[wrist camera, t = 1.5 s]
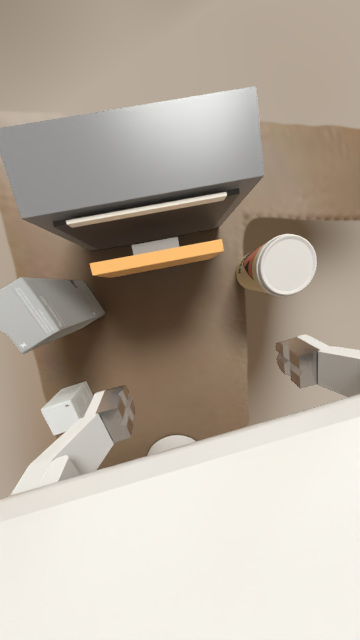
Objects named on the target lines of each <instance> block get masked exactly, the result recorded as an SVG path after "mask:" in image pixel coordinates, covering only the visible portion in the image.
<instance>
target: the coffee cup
mask: <svg viewBox="0 0 360 640" xmlns="http://www.w3.org/2000/svg"><path fill="white" fill-rule="evenodd" d="M316 265H317V259H316V254H315V251H314V249H313V247H312V245H311V244H310V243H309V242H308V241H307V240H306V239H304V238H302V237H300V236H297V235H293V234H284V235H280V236H277V237H275V238H273V239H272V240H270V241H269V242H267V243H266V244H264V245H262V246H261V247H259V248H257V249H255V250H254V251H252V252H250V253H249V254H247V255H246V256H244V257H243V258H242V259H241V260H240V261H239V263H238V265H237V268H236V277H237V280H238V282H239V283H240V285H241V286H243V287H244V288H246V289H249V290H253V291H257V292H262V293H267V294H271V295H275V296H279V297H286V296H291V295H294V294H296V293H298V292H299V291H301V290H302V289H304V288H305V287H306V286H307V285H308V284H309V283H310V281H311V280H312V278H313V276H314V274H315V271H316Z"/></svg>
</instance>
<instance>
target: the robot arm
mask: <svg viewBox="0 0 360 640" xmlns="http://www.w3.org/2000/svg"><path fill="white" fill-rule="evenodd" d="M276 351H278V352H279V354H278V356H277V363H278V366H279V368H280V369H281V371H282V372H283V373H284V374H285V375H289V376H291V380H292V381H293V382H294V383H295V384H296V385H297V386H298V387H299V388H303V387H308V386H311V385H315V384H318V385H319V386H322V387H324V388H327V389H329V390H332V391H334V392H337V393H339V394H342V395H344V396H347V397H348V398H345V399H341V400H338V401H335V402H331V403H327V404H324V405H321V406H317V407H314V408H310V409H307V410H303V411H300V412H296V413H293V414H290V415H286V416H283V417H279V418H276V419H273V420H269V421H266V422H262V423H259V424H255V425H252V426H248V427H245V428H241V429H238V430H234V431H231V432H227V433H224V434H221V435H217V436H214V437H210V438H207V439H203V440H200V441H195V440H193V439H191V438H189V437H186V436H181V435H173V436H168V437H165V438H163V439H161V440H159V441H158V442H156V443H155V444H154V445H153V446H152V447H151V449H150V450H149V452H148V454H147V456H145V457H142V458H138V459H135V460H131V461H128V462H125V463H121V464H118V465H114V466H111V467H107V468H104V469H100V470H97V468H98V467H99V465H100V464H101V462H102V461H103V459H104V458H105V456H106V455H107V453H108V452H109V450H110V449H111V447H112V446H113V444H114V442H117V441H120V440H124V439H127V438H130V437H131V435H132V429H133V423H132V420H133V418H134V416H135V407H134V403H133V400H132V398H131V397H129V396H128V394H129V390H128V388H127V386H125V385H123V386H119V387H116V388H112V389H108V390H104V391H100V392H97V393H95V395H94V397H93V399H92V401H91V403H90V405H89V407H88V409H87V411H86V414H85V416H84V417H83V418H80V419H79V420H78V421H77V422H76V423H75V424H74V425H73V426H71V427H70V428H69V429H68V430H67V431H66V432H65V433H64V434H63V435H62V436H60V437H59V438H58V439H57V440H56V441H55V442H54V443H53V444H52V445H51V446H50V447H48V448H47V449H46V450H45V451H44V452H43V453H42V454H41V455H40V456H38V458H36V459H35V460H34V461H33V462H32V463H31V464H30V465H29V466H28V468H27V469H26V471H25V473H24V474H23V476H22V477H21V479H20V481H19V483H18V484H17V485H16V487H15V489H14V490H13V492H12V493H11V495H10V496H7V497H4V498H0V640H360V350H355V349H348V348H342V347H335V346H334V347H330V346H328V345H326V344H324V343H322V342H320V341H318V340H316V339H314V338H312V337H310V336H308V335H300V336H297V337H295V338H291V339H288V340H285V341H281V342H278V343H276ZM96 470H97V471H96Z"/></svg>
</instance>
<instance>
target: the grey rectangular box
mask: <svg viewBox="0 0 360 640" xmlns="http://www.w3.org/2000/svg"><path fill="white" fill-rule="evenodd" d="M0 154H1V157H2V160H3V163H4V166H5V169H6V172H7V175H8V179H9V182H10V185H11V188H12V191H13V194H14V197H15V200H16V203H17V206H18V210H19V213H20V216H21V219H24V220H26V221H28V222H30V223H32V224H34V225H37V226H39V227H41V228H43V229H45V230H47V231H50V232H52V233H54V234H56V235H58V236H61V237H63V238H65V239H67V240H69V241H71V242H74V243H76V244H78V245H80V246H82V247H85V248H87V249H89V250H91V251H92V250H101V249H107V248H112V247H118V246H123V245H129V244H134V243H139V242H145V241H150V240H156V239H161V238H167V237H172V236H178V235H183V234H188V233H194V232H199V231H205V230H210V229H213V228H217V227H220V226H221V224H222V223H223V222H224V221H225V220H226V219H227V218H228V216H229V215H230V214H231V213H232V212H233V211H234V210H235V208H236V207H237V206H238V205H239V204H240V203H241V202H242V200H243V199H244V198H245V197H246V196H247V195H248V193H249V192H250V191H251V190H252V189H253V188H254V187H255V185H256V184H257V183H258V182H259V181H260V180H261V179H262V177H263V176H264V168H263V157H262V146H261V135H260V124H259V113H258V102H257V90H256V86H254V87H248V88H242V89H236V90H230V91H224V92H218V93H211V94H205V95H199V96H193V97H187V98H181V99H175V100H169V101H163V102H157V103H150V104H144V105H138V106H132V107H126V108H120V109H114V110H108V111H102V112H95V113H89V114H83V115H77V116H71V117H65V118H59V119H52V120H46V121H40V122H34V123H28V124H22V125H16V126H10V127H4V128H0Z"/></svg>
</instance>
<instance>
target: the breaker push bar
mask: <svg viewBox="0 0 360 640" xmlns="http://www.w3.org/2000/svg"><path fill="white" fill-rule="evenodd" d="M132 250H133V254H134V255H133V256H127V257H122V258H116V259H111V260H106V261H100V262H95V263H90V268H91V271H92V275H93V276H100V277H107V278H113V277H118V276H124V275H129V274H134V273H139V272H145V271H150V270H155V269H161V268H166V267H171V266H177V265H182V264H187V263H193V262H198V261H203V260H208V259H212V258H213V257H215V256H216V255H218V254H220V253H221V252H223V243H222V239H219V240H213V241H208V242H203V243H197V244H192V245H186V246H181V247H179V241H178V237H174V238H168V239H163V240H157V241H152V242H147V243H141V244H136V245H132Z"/></svg>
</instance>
